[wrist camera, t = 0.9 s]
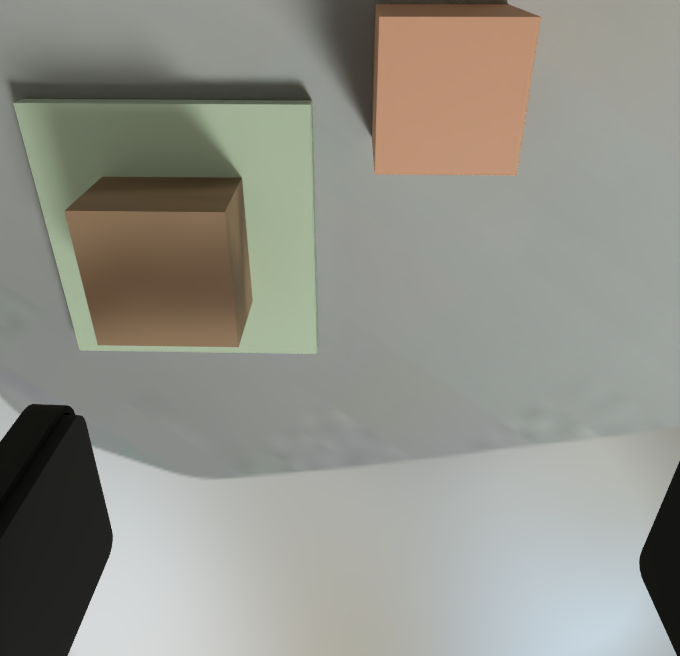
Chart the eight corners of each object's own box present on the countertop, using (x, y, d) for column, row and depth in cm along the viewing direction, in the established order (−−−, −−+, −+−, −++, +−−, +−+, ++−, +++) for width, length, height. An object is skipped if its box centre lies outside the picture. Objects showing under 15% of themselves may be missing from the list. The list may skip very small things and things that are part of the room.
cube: (375, 3, 23) (379, 16, 19) (507, 4, 23) (540, 17, 19) (372, 136, 26) (374, 174, 22) (490, 138, 26) (516, 175, 22)
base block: (102, 176, 26) (64, 210, 23) (241, 177, 26) (224, 212, 23) (127, 299, 29) (97, 345, 26) (252, 300, 29) (238, 347, 26)
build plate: (22, 98, 25) (13, 103, 25) (311, 100, 25) (310, 104, 25) (85, 341, 32) (79, 350, 31) (317, 344, 32) (316, 353, 31)
